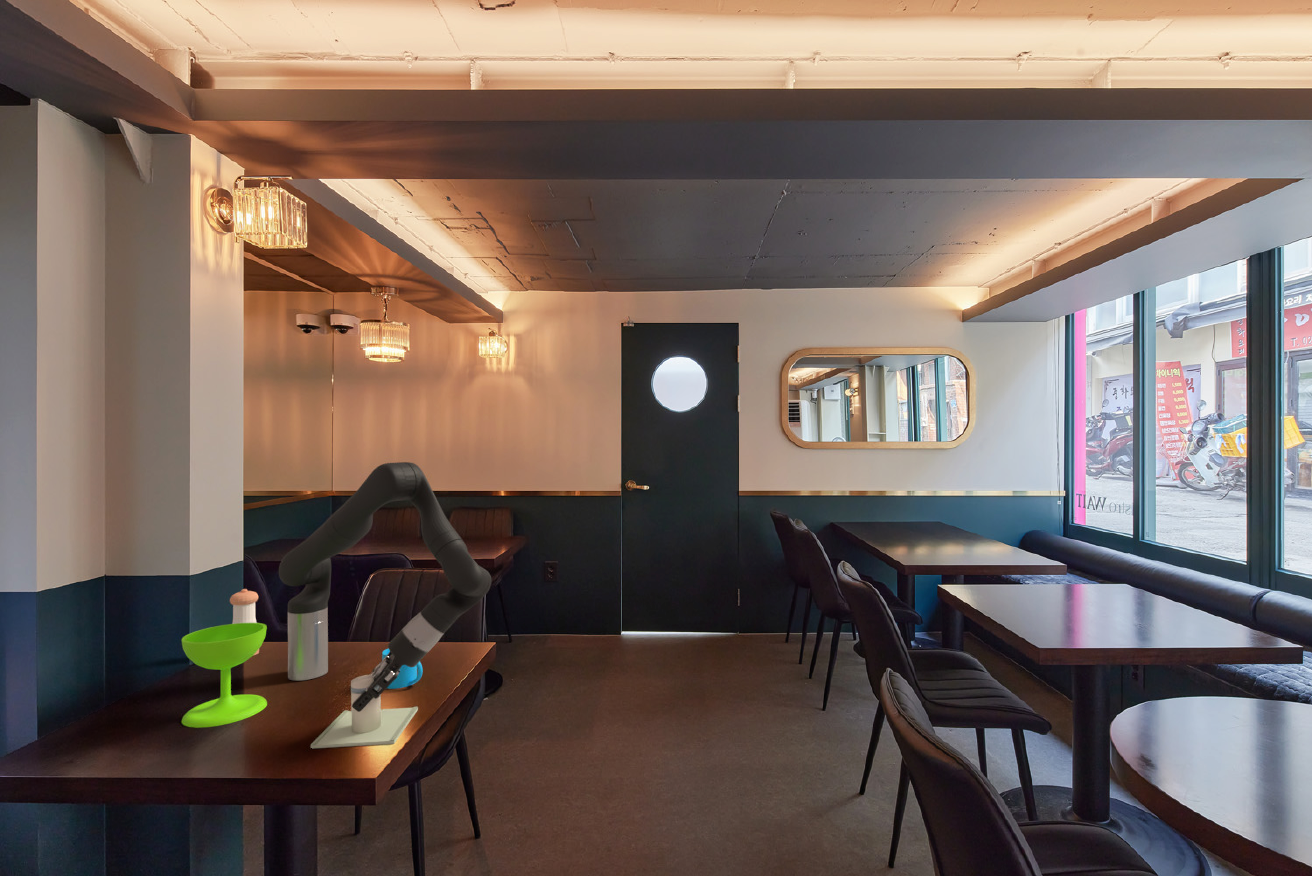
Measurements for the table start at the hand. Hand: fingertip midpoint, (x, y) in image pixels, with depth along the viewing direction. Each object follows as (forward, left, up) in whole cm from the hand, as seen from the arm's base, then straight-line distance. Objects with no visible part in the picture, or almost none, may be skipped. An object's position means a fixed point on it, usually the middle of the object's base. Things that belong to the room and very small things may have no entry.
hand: (357, 701), depth 128 cm
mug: (-26, +2, -7) cm, 27 cm away
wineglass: (-14, -34, -6) cm, 38 cm away
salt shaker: (-56, -53, -6) cm, 78 cm away
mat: (-1, +2, -6) cm, 7 cm away
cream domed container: (0, +2, -6) cm, 6 cm away
